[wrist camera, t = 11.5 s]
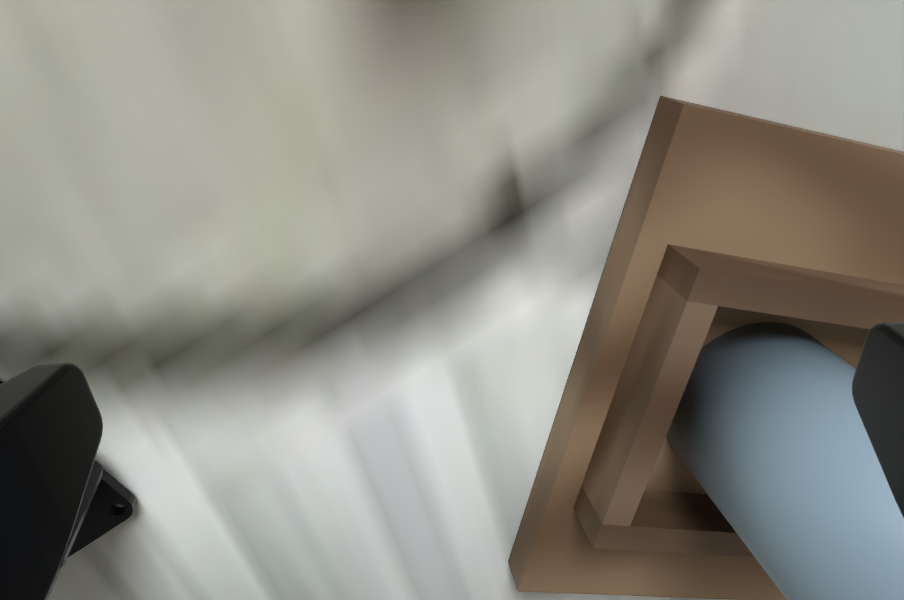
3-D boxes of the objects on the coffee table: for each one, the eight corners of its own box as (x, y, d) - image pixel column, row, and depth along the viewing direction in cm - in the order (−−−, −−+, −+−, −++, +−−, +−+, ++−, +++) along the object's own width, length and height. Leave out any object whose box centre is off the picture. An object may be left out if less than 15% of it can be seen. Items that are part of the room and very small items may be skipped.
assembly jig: (770, 574, 31) (822, 642, 27) (508, 561, 28) (532, 636, 25) (976, 168, 24) (1076, 197, 21) (660, 95, 21) (720, 116, 18)
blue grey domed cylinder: (662, 485, 25) (954, 918, 14) (666, 338, 23) (1031, 719, 11) (816, 453, 26) (1221, 841, 14) (838, 307, 23) (1352, 635, 12)
